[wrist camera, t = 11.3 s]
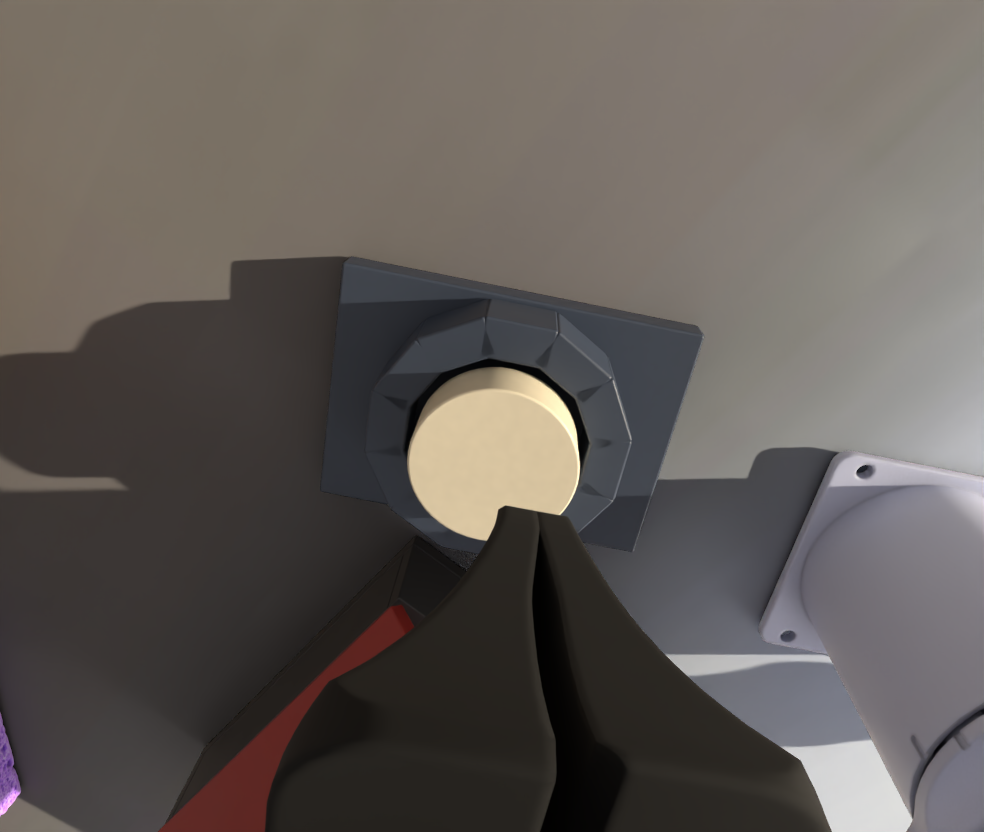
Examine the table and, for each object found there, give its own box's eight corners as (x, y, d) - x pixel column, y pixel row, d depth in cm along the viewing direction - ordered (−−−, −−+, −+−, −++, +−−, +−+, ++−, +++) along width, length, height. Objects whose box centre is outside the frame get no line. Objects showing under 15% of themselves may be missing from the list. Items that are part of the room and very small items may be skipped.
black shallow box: (635, 695, 28) (647, 773, 25) (404, 867, 34) (389, 951, 31) (416, 533, 26) (398, 597, 23) (203, 747, 31) (164, 823, 28)
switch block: (698, 325, 22) (721, 357, 19) (630, 537, 25) (641, 590, 23) (350, 255, 22) (322, 278, 19) (327, 477, 25) (300, 524, 23)
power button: (594, 384, 20) (598, 408, 19) (557, 523, 22) (558, 556, 21) (429, 351, 20) (419, 372, 19) (406, 494, 22) (396, 524, 21)
